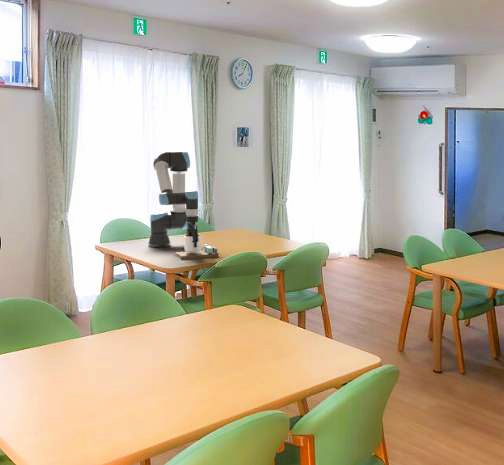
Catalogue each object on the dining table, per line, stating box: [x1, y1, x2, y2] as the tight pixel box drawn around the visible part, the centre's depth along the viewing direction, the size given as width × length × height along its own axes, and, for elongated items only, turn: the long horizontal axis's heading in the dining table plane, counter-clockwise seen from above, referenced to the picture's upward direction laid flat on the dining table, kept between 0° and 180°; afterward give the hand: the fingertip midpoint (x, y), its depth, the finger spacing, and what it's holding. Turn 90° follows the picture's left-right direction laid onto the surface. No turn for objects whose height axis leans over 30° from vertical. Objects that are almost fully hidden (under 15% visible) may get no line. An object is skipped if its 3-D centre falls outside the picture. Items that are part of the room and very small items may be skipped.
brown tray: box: [174, 245, 219, 260], centre depth 391 cm, size 14×24×5 cm, turn 112°
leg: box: [203, 243, 213, 253], centre depth 393 cm, size 12×3×4 cm, turn 17°
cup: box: [183, 234, 202, 252], centre depth 388 cm, size 10×10×10 cm
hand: (192, 250), depth 388 cm, fingers closed on cup, 10 cm apart
